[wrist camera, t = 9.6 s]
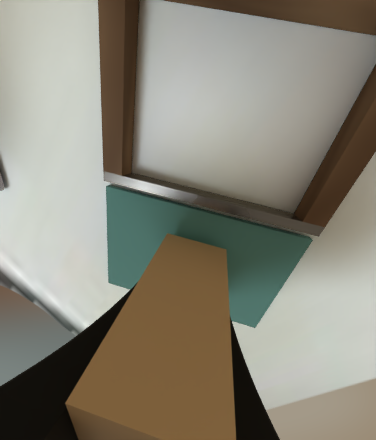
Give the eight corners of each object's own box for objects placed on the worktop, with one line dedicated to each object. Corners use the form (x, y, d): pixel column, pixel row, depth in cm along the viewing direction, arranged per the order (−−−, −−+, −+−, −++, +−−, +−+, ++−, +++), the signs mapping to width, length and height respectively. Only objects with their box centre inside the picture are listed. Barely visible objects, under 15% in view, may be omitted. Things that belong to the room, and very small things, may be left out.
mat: (111, 279, 16) (108, 282, 16) (109, 184, 12) (106, 186, 11) (254, 323, 15) (255, 327, 15) (309, 237, 11) (312, 240, 10)
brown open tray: (114, 177, 11) (66, 192, 8) (114, -50, 7) (4, -251, 3) (308, 226, 10) (354, 270, 7) (449, -2, 6) (783, -214, 2)
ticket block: (157, 293, 14) (85, 460, 6) (167, 233, 11) (65, 403, 4) (203, 308, 13) (183, 499, 6) (226, 249, 11) (237, 467, 3)
